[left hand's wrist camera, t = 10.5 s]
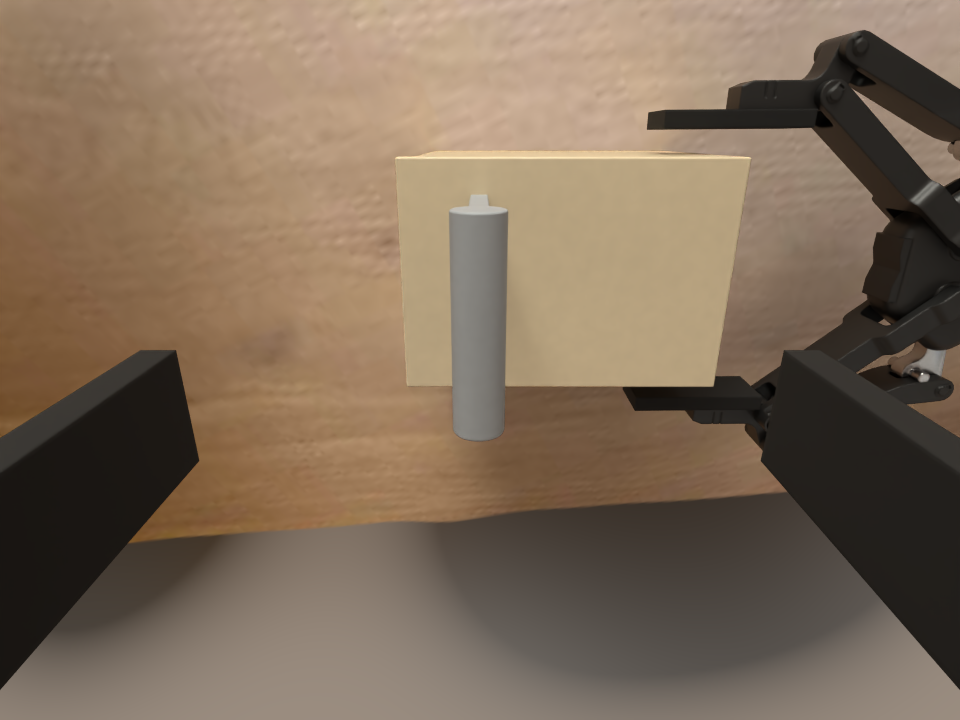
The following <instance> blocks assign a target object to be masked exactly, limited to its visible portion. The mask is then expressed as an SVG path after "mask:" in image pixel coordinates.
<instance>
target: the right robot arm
mask: <svg viewBox="0 0 960 720" xmlns="http://www.w3.org/2000/svg"><path fill="white" fill-rule="evenodd" d="M814 62H815V63H814V64H813V66H812V68H811V70H810V72H809V73H808V75H807V76H806V77H805V78H804V79H802V80H755V81H750V82H745V83H740V84H738V85H736V86H733V87H731V88H729V91H728V98H727V106H726V109H714V110H662V111H655V112H649V113H648V124H647V130H665V129H784V128H812V129H813V130H814V131H815V132H816V133H817V134H818V135H819V136H820V138H821V139H822V140H823V141H824V142H825V143H826V144H827V145H828V146H829V147H830V149H831V150H832V151H833V152H834V153H835V154H836V155H837V156H838V157H839V158H840V160H841V161H842V162H843V163H844V164H845V165H846V166H847V167H848V168H849V169H850V171H851V172H852V173H853V174H854V175H855V176H856V177H857V178H858V179H859V180H860V182H861V183H862V184H863V185H864V186H865V187H866V188H867V189H868V190H869V191H870V193H871V194H872V195H873V197H872V200H873V202H874V203H875V204H876V205H877V206H878V207H879V208H880V210H881V211H882V212H883V213H884V214H885V215H886V216H887V217H888V218H889V219H890V222H889V223H888V225H887V226H886V227H885V229H884V230H883V232H877V234H876V238H875V242H874V246H873V265H872V267H871V269H870V270H869V272H868V274H867V276H866V278H865V282H864V286H863V290H862V292H863V293H865V294H867V298H868V300H867V301H865V302H864V303H862V304H861V305H859V306H858V307H856V308H855V309H854V310H852V311H851V312H849V313H848V314H846V315H845V316H844V318H843V323H842V324H841V325H840V326H838V327H837V328H835V329H834V330H832V331H831V332H829V333H828V334H827V335H825V336H824V337H822V338H821V339H819V340H818V341H816V342H815V343H813V344H812V345H810V346H809V347H808V348H806V349H805V350H820V351H821V352H823V353H825V354H826V355H828V356H829V357H831V358H833V359H834V360H836V361H837V362H839V363H841V364H842V365H844V366H845V367H847V368H849V369H850V370H852V371H853V372H855V373H856V372H858V371H859V370H861V369H862V368H864V367H865V366H867V365H868V364H870V363H871V362H873V361H874V360H876V359H877V358H879V357H881V356H883V355H893V354H896V353H898V352H900V351H902V350H903V349H905V348H907V347H908V346H910V345H911V344H913V343H915V345H914V348H913V349H912V351H911V352H910V353H908V354H907V355H905V356H902V357H899V358H898V357H892V358H890V359H889V360H888V365H886V366H880V367H876V368H872V369H869V370H866V371H864V372H861V373H859V374H858V375H860V376H861V377H863V378H864V379H866V380H868V381H869V382H871V383H872V384H874V385H876V386H877V387H879V388H880V389H882V390H884V391H885V392H887V393H888V394H890V395H892V396H893V397H895V398H896V399H898V400H900V401H901V402H903V403H904V404H906V405H907V404H915V403H925V402H934V401H941V400H945V399H946V398H948V397H949V396H950V395H951V394H952V392H953V390H954V385H953V383H952V382H951V381H949V380H947V379H945V378H943V377H941V376H942V370H943V365H944V359H945V354H946V350H947V349H950V348H953V347H955V346H957V345H959V344H960V178H959V179H956V180H954V181H952V182H951V183H949V184H947V185H946V186H942V185H941V184H939V183H937V182H934V181H932V180H931V179H930V178H929V177H928V176H927V175H926V174H925V173H924V172H923V170H922V169H921V168H920V167H919V166H918V165H917V164H916V162H915V161H914V160H913V159H912V158H911V157H910V155H909V154H908V153H907V152H906V151H905V150H904V148H903V147H902V146H901V145H900V144H899V143H898V142H897V140H896V139H895V138H894V137H893V136H892V135H891V133H890V132H889V131H888V130H887V129H886V128H885V127H884V125H883V124H882V123H881V122H880V121H879V120H878V118H877V117H876V116H875V115H874V114H873V113H872V112H871V110H870V109H869V108H868V107H867V106H866V105H865V103H864V102H863V101H862V100H861V99H860V98H859V97H858V95H857V94H856V93H855V92H854V91H853V90H852V89H854V90H856V91H857V92H859V93H860V94H862V95H864V96H865V97H867V98H869V99H870V100H872V101H874V102H875V103H877V104H878V105H880V106H882V107H883V108H885V109H887V110H888V111H890V112H891V113H893V114H895V115H896V116H898V117H900V118H901V119H903V120H904V121H906V122H908V123H909V124H911V125H913V126H914V127H916V128H917V129H919V130H921V131H922V132H924V133H926V134H927V135H929V136H931V137H933V138H936V139H939V140H942V141H947V142H951V143H950V144H949V146H948V152H949V153H950V154H953V156H954V158H955V159H956V160H959V161H960V89H959V88H957V87H956V86H954V85H952V84H951V83H949V82H948V81H946V80H945V79H943V78H941V77H940V76H938V75H937V74H935V73H934V72H932V71H930V70H929V69H927V68H926V67H924V66H923V65H921V64H920V63H918V62H916V61H915V60H913V59H912V58H910V57H909V56H907V55H905V54H904V53H902V52H901V51H899V50H898V49H896V48H894V47H893V46H891V45H890V44H888V43H887V42H885V41H883V40H882V39H880V38H879V37H877V36H876V35H874V34H873V33H871V32H869V31H866V30H862V31H857V32H854V33H850V34H847V35H843V36H839V37H836V38H832V39H829V40H826V41H824V42H822V43H821V44H820V45H819V46H818V47H817V48H816V51H815V53H814ZM883 319H885V320H886V321H888V322H889V323H890V324H891V325H888V326H884V325H882V324H880V323H878V322H880V321H881V320H883ZM780 367H781V366H780ZM780 367H778V368H777V369H775V370H774V371H772V372H771V373H769V374H768V375H766V376H765V377H764V378H762V379H761V380H759V381H758V382H756V383H755V384H753V385H752V386H750V385H749V384H748V383H747V382H746V381H745V380H743V379H742V378H741V377H740V376H715V381H714V386H713V387H623V391H624V392H625V394H626V396H627V398H628V399H629V401H630V403H631V405H632V406H633V408H634V410H635V411H663V410H685V411H686V412H687V414H688V415H689V416H690V418H691V419H692V420H693V421H695V422H698V423H701V424H712V423H713V424H719V423H720V424H745V431H746V432H747V434H748V435H749V436H750V437H751V438H752V439H753V440H754V441H755V443H756V444H757V445H758V446H759V447H760V448H761V449H762V450H763V448H764V443H765V438H766V434H767V429H768V424H769V419H770V415H771V410H772V405H773V400H774V396H775V391H776V386H777V381H778V376H779V372H780Z"/></svg>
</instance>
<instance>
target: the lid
mask: <svg viewBox="0 0 960 720" xmlns="http://www.w3.org/2000/svg"><path fill="white" fill-rule="evenodd" d="M750 163H751V158H750V157H396V158H395V171H396V190H397V210H398V229H399V248H400V267H401V287H402V306H403V325H404V345H405V364H406V383H407V386H408V387H452V397H453V430H454V432H455V434H456V435H457V436H459V437H460V438H462V439H465V440H469V441H489V440H492V439H495V438H497V437H499V436H500V435H501V434H502V433H503V431H504V423H505V387H713V386H714V381H715V375H716V369H717V362H718V356H719V350H720V344H721V338H722V332H723V326H724V320H725V314H726V308H727V302H728V296H729V290H730V284H731V278H732V272H733V266H734V260H735V254H736V248H737V242H738V236H739V230H740V224H741V218H742V212H743V206H744V200H745V194H746V188H747V182H748V176H749V169H750Z"/></svg>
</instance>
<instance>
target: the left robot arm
mask: <svg viewBox="0 0 960 720" xmlns="http://www.w3.org/2000/svg"><path fill="white" fill-rule="evenodd" d="M198 462H199V457H198V453H197V448H196V443H195V438H194V434H193V429H192V424H191V419H190V415H189V410H188V405H187V400H186V396H185V391H184V386H183V381H182V376H181V372H180V367H179V362H178V357H177V353H176V350H140V351H139V352H137V353H135V354H134V355H132V356H131V357H129V358H127V359H126V360H124V361H123V362H121V363H119V364H118V365H116V366H115V367H113V368H111V369H110V370H108V371H107V372H105V373H103V374H102V375H100V376H99V377H97V378H96V379H94V380H92V381H91V382H89V383H88V384H86V385H84V386H83V387H81V388H80V389H78V390H76V391H75V392H73V393H72V394H70V395H68V396H67V397H65V398H64V399H62V400H60V401H59V402H57V403H56V404H54V405H52V406H51V407H49V408H48V409H46V410H44V411H43V412H41V413H40V414H38V415H36V416H35V417H33V418H32V419H30V420H28V421H27V422H25V423H24V424H22V425H20V426H19V427H17V428H16V429H14V430H12V431H11V432H9V433H8V434H6V435H4V436H3V437H1V438H0V689H1V688H2V687H3V686H4V685H5V684H6V683H7V681H8V680H9V679H10V678H11V677H12V676H13V674H14V673H15V672H16V671H17V670H18V669H19V668H20V666H21V665H22V664H23V663H24V662H25V661H26V660H27V658H28V657H29V656H30V655H31V654H32V653H33V651H34V650H35V649H36V648H37V647H38V646H39V644H40V643H41V642H42V641H43V640H44V639H45V638H46V637H47V635H48V634H49V633H50V632H51V631H52V630H53V628H54V627H55V626H56V625H57V624H58V623H59V622H60V620H61V619H62V618H63V617H64V616H65V615H66V614H67V612H68V611H69V610H70V609H71V608H72V607H73V605H74V604H75V603H76V602H77V601H78V600H79V599H80V597H81V596H82V595H83V594H84V593H85V592H86V591H87V589H88V588H89V587H90V586H91V585H92V584H93V582H94V581H95V580H96V579H97V578H98V577H99V576H100V574H101V573H102V572H103V571H104V570H105V569H106V568H107V566H108V565H109V564H110V563H111V562H112V561H113V559H114V558H115V557H116V556H117V555H118V554H119V553H120V551H121V550H122V549H123V548H124V547H125V546H126V545H127V543H128V542H129V541H130V540H131V539H132V538H133V536H134V535H135V534H136V533H137V532H138V531H139V530H140V528H141V527H142V526H143V525H144V524H145V523H146V522H147V520H148V519H149V518H150V517H151V516H152V515H153V513H154V512H155V511H156V510H157V509H158V508H159V507H160V505H161V504H162V503H163V502H164V501H165V500H166V498H167V497H168V496H169V495H170V494H171V493H172V492H173V490H174V489H175V488H176V487H177V486H178V485H179V484H180V482H181V481H182V480H183V479H184V478H185V477H186V475H187V474H188V473H189V472H190V471H191V470H192V469H193V467H194V466H195V465H196V464H197V463H198ZM761 462H762V463H763V464H764V465H765V466H766V467H767V469H768V470H769V471H770V472H771V473H772V474H773V475H774V477H775V478H776V479H777V480H778V481H779V482H780V484H781V485H782V486H783V487H784V488H785V489H786V490H787V492H788V493H789V494H790V495H791V496H792V497H793V498H794V500H795V501H796V502H797V503H798V504H799V505H800V507H801V508H802V509H803V510H804V511H805V512H806V513H807V515H808V516H809V517H810V518H811V519H812V520H813V521H814V523H815V524H816V525H817V526H818V527H819V528H820V530H821V531H822V532H823V533H824V534H825V535H826V536H827V538H828V539H829V540H830V541H831V542H832V543H833V544H834V546H835V547H836V548H837V549H838V550H839V551H840V553H841V554H842V555H843V556H844V557H845V558H846V559H847V560H848V562H849V563H850V564H851V565H852V566H853V567H854V569H855V570H856V571H857V572H858V573H859V574H860V575H861V577H862V578H863V579H864V580H865V581H866V582H867V584H868V585H869V586H870V587H871V588H872V589H873V591H874V592H875V593H876V594H877V595H878V596H879V597H880V599H881V600H882V601H883V602H884V603H885V604H886V605H887V607H888V608H889V609H890V610H891V611H892V612H893V613H894V615H895V616H896V617H897V618H898V619H899V620H900V622H901V623H902V624H903V625H904V626H905V627H906V628H907V630H908V631H909V632H910V633H911V634H912V635H913V637H914V638H915V639H916V640H917V641H918V642H919V643H920V645H921V646H922V647H923V648H924V649H925V650H926V651H927V653H928V654H929V655H930V656H931V657H932V658H933V659H934V661H935V662H936V663H937V664H938V665H939V666H940V668H941V669H942V670H943V671H944V672H945V673H946V674H947V676H948V677H949V678H950V679H951V680H952V681H953V683H954V684H955V685H956V686H957V687H958V688H959V689H960V438H959V437H957V436H956V435H954V434H952V433H951V432H949V431H948V430H946V429H944V428H943V427H941V426H940V425H938V424H936V423H935V422H933V421H932V420H930V419H928V418H927V417H925V416H924V415H922V414H920V413H919V412H917V411H916V410H914V409H912V408H911V407H909V406H908V405H906V404H904V403H903V402H901V401H900V400H898V399H896V398H895V397H893V396H892V395H890V394H888V393H887V392H885V391H884V390H882V389H880V388H879V387H877V386H876V385H874V384H872V383H871V382H869V381H868V380H866V379H864V378H863V377H861V376H860V375H858V374H857V373H855V372H853V371H852V370H850V369H849V368H847V367H845V366H844V365H842V364H841V363H839V362H837V361H836V360H834V359H833V358H831V357H829V356H828V355H826V354H825V353H823V352H821V351H820V350H784V353H783V357H782V362H781V367H780V372H779V376H778V381H777V386H776V391H775V396H774V400H773V405H772V410H771V415H770V419H769V424H768V429H767V434H766V438H765V443H764V448H763V453H762V457H761Z"/></svg>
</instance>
